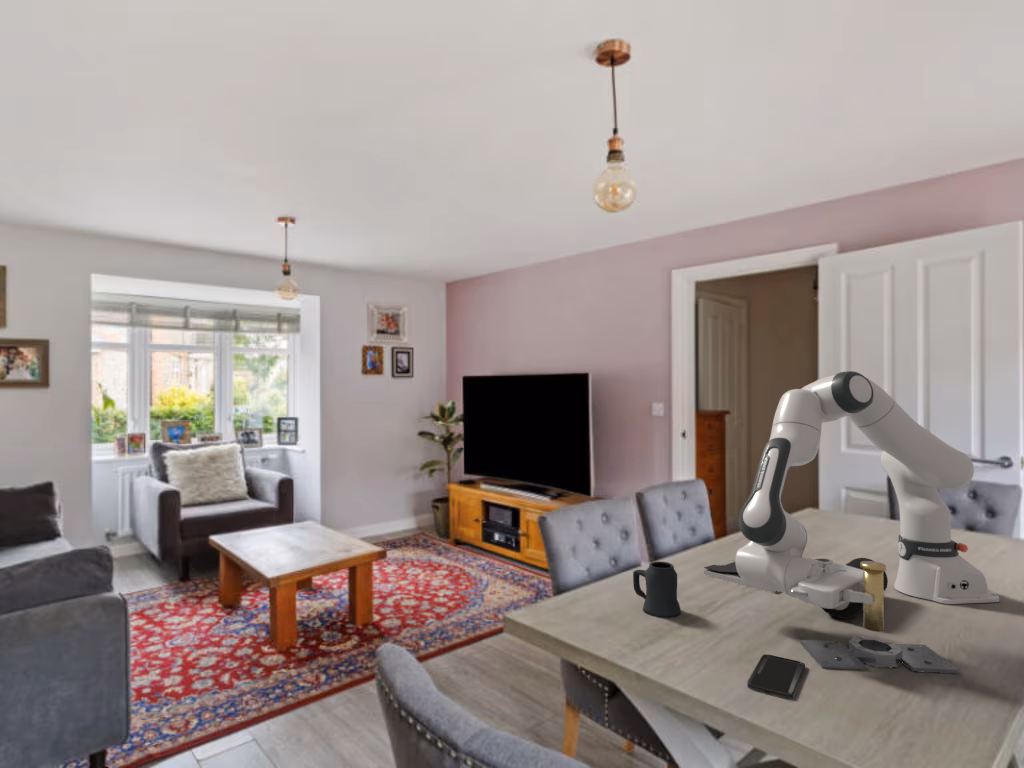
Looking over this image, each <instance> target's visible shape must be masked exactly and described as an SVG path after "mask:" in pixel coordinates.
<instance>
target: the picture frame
mask: <svg viewBox="0 0 1024 768" xmlns="http://www.w3.org/2000/svg"><path fill="white" fill-rule="evenodd" d="M704 574H705V575H704ZM703 575H704V576H707V575H709V576H708V577H710V576H712V577H711V578H714V577H716V579H718V578H719V580H722V579H723V580H722V581H725V580H727V581H726V582H729V581H730V582H729V583H733V582H734V583H733V584H737V583H738V584H737V585H740V584H742V585H741V586H744V585H745V587H748V586H749V587H748V588H752V587H753V588H752V589H755V588H757V589H756V590H759V589H761V590H760V591H763V590H765V591H764V592H767V591H769V592H768V593H770V592H773V593H772V594H775V593H776V592H775V591H770V590H766V589H763V588H760V587H757V586H754V585H752V584H749V583H747V582H746V581H744V580H743V579H742V578H741V577H740V576H739V574H738V572H737V569H736V565H735V559H731V560H729V561H725V562H723V563H720V564H711V565H708V566H704V567H703ZM774 592H775V593H774Z"/></svg>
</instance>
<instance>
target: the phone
mask: <svg viewBox="0 0 1024 768" xmlns="http://www.w3.org/2000/svg"><path fill="white" fill-rule="evenodd" d="M805 671H806V663H804V662H802V661H799V660H795V659H790V658H786V657H783V656H782V657H781V656H777V655H772V654H765V653H764V654H762V655H761V656H760V659H759V660H758V662H757V664H756V666H755V667H754V669H753V670H752V672H751V674H750V676H749V678H748V679H747V681H746V683H747V684H746V685H747V686H746V687H747V688H748V689H749V690H751V691H755V692H759V693H763V694H767V695H770V696H774V697H778V698H781V699H786V700H792V699H794V698H795V696H796V693H797V691H798V688H799V685H800V683H801V681H802V679H803V675H804V674H805Z"/></svg>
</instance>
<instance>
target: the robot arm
mask: <svg viewBox="0 0 1024 768" xmlns="http://www.w3.org/2000/svg"><path fill="white" fill-rule="evenodd" d="M844 417H848V418H849V420H850V421H851V422H852V423H853V424H854V425H855V426H856V428H857V429H859V430H860V431H861V432H862V433H863V435H865V437H866V438H868V440H869V442H871V443H872V444H873V445H874V446H875V447H876V448H878V449H879V450H881V451H882V453H881V456H880V465H881V468H882V469H883V471H884V472H885V473H886V475H888V478H889V479H890V481H891V484H892V486H893V489H894V492H895V495H896V499H897V503H898V507H899V508H898V510H899V527H900V534H899V535H898V541H897V542H898V546H897V548H898V549H897V550H898V556H899V562H898V568H897V569H898V570H897V574H896V578H895V581H894V583H893V588H894V589H895V590H896V591H898V592H900V593H903V594H905V595H908V596H912V597H915V598H920V599H925V600H929V601H932V602H933V601H934V602H937V603H940V604H945V605H957V604H958V605H959V604H962V605H963V604H983V603H984V604H985V603H986V604H987V603H1000V597H999V595H998V594H996V592H994V591H993V590H990V589H989V587H988V582H987V579H986V576H985V575H984V573H983V572H982V570H980V569H979V568H977V567H975V565H973V564H972V563H970V562H969V561H967V559H965V558H964V557H962V555H960V554H959V552H961V553H967V551H969V547H968V545H966V544H965V543H963V542H956V541H954V540H953V539H952V515H951V510H950V508H949V507H948V505H947V504H946V503H945V502H944V501H943V500H942V498H941V496H940V493H939V490H959V489H962V488H964V487H966V486H968V484H969V483H970V482H971V481H972V479H973V477H974V473H975V468H974V463H973V461H972V459H971V458H970V457H969V456H968V455H967V454H966V453H964V452H962V451H960V450H958V449H956V448H954V447H952V445H949V444H947V443H946V442H945V441H943V440H942V439H940V438H939V437H938V436H936V435H935V434H933V433H932V432H930V431H929V430H928V429H926V427H925V428H924V427H923V426H922V425H921V424H919V423H918V422H916V420H914V419H913V418H912V417H911V416H910V415H909V414H908V413H907V412H906V411H905V410H904V409H903V408H902V407H901V406H900V405H899V404H898V403H897V401H896V400H895V399H893V398H892V396H890V395H889V393H888V392H887V391H885V389H883V388H882V387H881V386H879V384H876V383H875V382H874V381H872V380H871V379H870V378H868V377H866V376H865V375H863V374H861V373H859V372H857V371H851V370H850V371H849V370H847V371H842V372H838V373H836V374H832V375H828V376H825V377H822V378H821V377H820V378H818V379H816V380H815V381H813V382H811V383H809V384H807V385H804V386H800V387H799V388H794V389H790V390H787V391H786V392H784V393H783V394H782V396H781V397H780V399H779V402H778V405H777V407H776V409H775V414H774V416H773V422H772V424H771V426H772V427H771V432H770V437H769V439H768V442H766V444H765V446H764V448H763V450H762V453H761V455H760V459H759V462H758V466H757V469H756V472H755V476H754V479H753V484H752V487H751V490H750V492H749V495H748V497H747V499H746V500H745V502H744V503H743V505H742V507H741V509H740V511H739V514H738V527H739V530H740V532H741V534H742V535H743V536H744V537H745V538H746V539H747V540H748V543H746V544H745V545H744V546H741V547H740V548H739V549H738V550H737V551H736V553H735V559H734V560H735V565H736V569H737V572H738V574H739V576H740V577H741V578H742V579H743V580H744V581H746V582H747V583H749V584H752V585H754V586H757V587H760V588H763V589H766V590H770V591H775V593H777V592H780V593H783V594H785V595H787V596H789V597H791V598H797V599H799V600H800V601H802V602H804V603H807V604H810V605H812V606H816V607H819V608H821V607H822V608H827V609H833V608H835V607H837V606H839V605H841V604H843V603H845V602H847V601H848V602H860V603H866V604H872V603H874V601H875V600H874V598H875V597H874V595H873V594H871V593H867V592H864V593H863V570H861V569H858V568H854V567H850V566H847V565H846V564H842V563H835V562H834V560H833V559H830V558H826V557H825V558H809V557H803V554H804V552H805V548H806V546H807V543H808V534H807V533H808V532H807V530H806V528H805V526H804V524H803V523H801V522H800V521H799V520H798V519H796V518H795V517H794V516H792V515H791V514H790V513H789V512H787V511H786V510H785V509H784V507H783V503H782V501H781V498H782V493H783V489H784V485H785V481H786V478H787V473H788V471H789V469H790V468H791V467H799V466H805V465H807V464H809V463H810V462H812V461H813V460H814V459H815V458H816V456H817V454H818V451H819V448H820V445H821V444H820V443H821V438H822V437H821V436H822V427H823V426H822V425H823V423H829V422H833V421H837V420H839V419H842V418H844ZM776 591H777V592H776ZM822 608H821V609H822Z"/></svg>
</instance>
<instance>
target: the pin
mask: <svg viewBox="0 0 1024 768" xmlns="http://www.w3.org/2000/svg"><path fill="white" fill-rule="evenodd" d="M860 567H861V568H863V593H864V592H867V593H871V594H873V595H874V597H875V598H874V600H875V601H874V603H872V604H866V603H863V609H862V611H863V613H862V615H863V618H862V619H863V620H862V622H863V623H862V624H863V625H862V626H863V628H864V629H865V630H868V631H871V632H877V633H878V632H884V630H885V629H884V628H885V626H884V625H885V622H884V621H885V619H884V616H885V614H884V613H885V612H884V611H885V609H884V607H885V606H884V604H885V603H884V602H885V601H884V598H885V591H884V585H883V571H885V572H886V571H887V565H886V564H884V563H882V562H879V561H875V562H874V560H873V561H862V562H860Z"/></svg>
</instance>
